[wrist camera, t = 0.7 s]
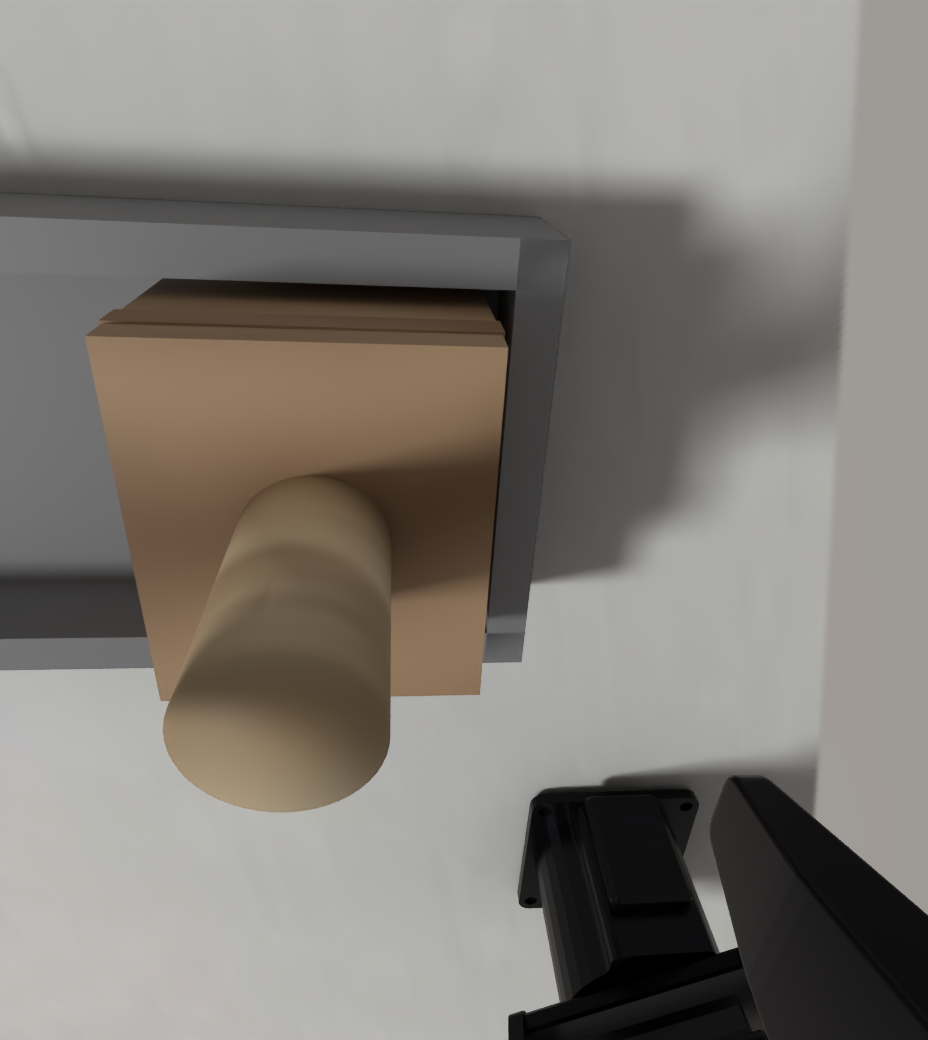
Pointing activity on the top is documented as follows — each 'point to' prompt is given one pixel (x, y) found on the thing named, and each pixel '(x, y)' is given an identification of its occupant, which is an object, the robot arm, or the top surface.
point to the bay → (238, 257)
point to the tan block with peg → (302, 516)
